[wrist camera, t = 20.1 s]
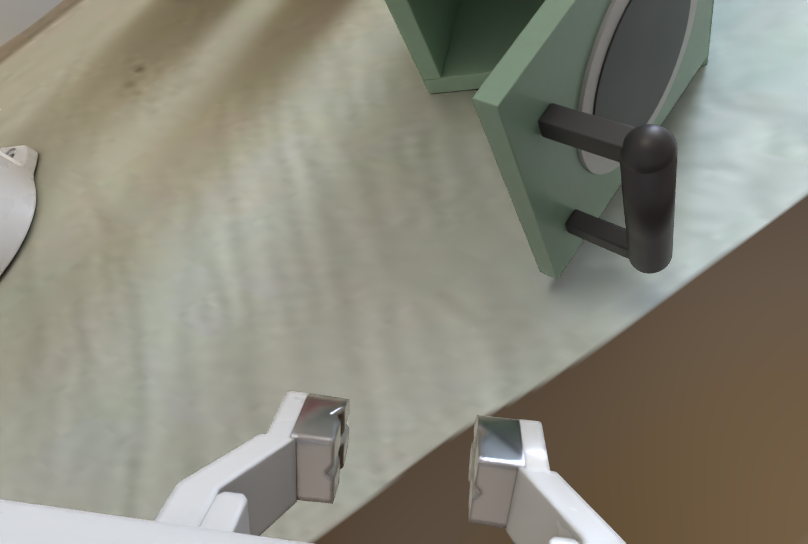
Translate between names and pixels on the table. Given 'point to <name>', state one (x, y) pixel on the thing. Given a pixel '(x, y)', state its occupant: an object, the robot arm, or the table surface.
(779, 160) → the table surface
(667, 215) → the door
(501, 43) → the washer
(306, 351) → the table surface
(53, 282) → the table surface
